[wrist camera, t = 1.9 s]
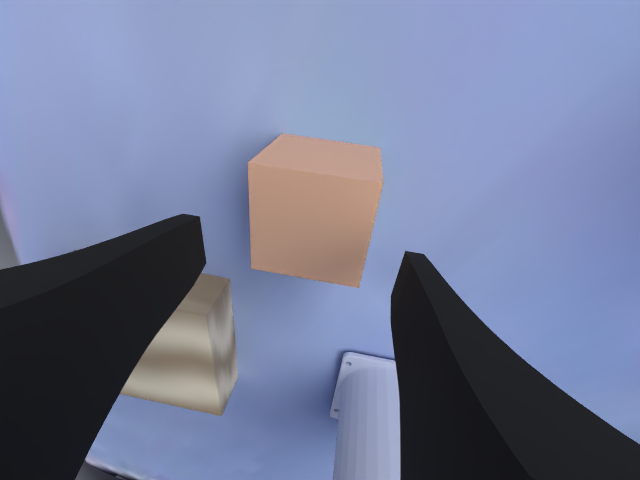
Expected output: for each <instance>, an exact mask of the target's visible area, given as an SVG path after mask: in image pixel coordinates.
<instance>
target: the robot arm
mask: <svg viewBox="0 0 640 480" xmlns="http://www.w3.org/2000/svg"><path fill="white" fill-rule="evenodd" d="M205 264H206V257H205V250H204V243H203V236H202V229H201V222H200V217H199V216H193V215H187V214H181V215H177V216H174V217H171V218H168V219H165V220H162V221H159V222H157V223H154V224H151V225H149V226H146V227H143V228H141V229H138V230H135V231H132V232H130V233H127V234H124V235H122V236H119V237H116V238H113V239H110V240H107V241H104V242H101V243H98V244H95V245H92V246H90V247H87V248H84V249H80V250H77V251H74V252H70V253H67V254H64V255H60V256H56V257H52V258H49V259H45V260H41V261H37V262H33V263H29V264H24V265H20V266H15V267H11V268H6V269H2V270H0V480H75V478H76V476H77V474H78V472H79V470H80V468H81V466H82V464H83V462H84V460H85V458H86V456H87V454H88V452H89V450H90V448H91V446H92V444H93V442H94V440H95V438H96V436H97V434H98V432H99V430H100V429H101V427H102V425H103V423H104V421H105V419H106V417H107V415H108V414H109V412H110V410H111V408H112V406H113V404H114V403H115V401H116V399H117V397H118V396H119V394H120V392H121V390H122V389H123V387H124V385H125V383H126V382H127V380H128V378H129V376H130V375H131V373H132V372H133V370H134V368H135V367H136V365H137V363H138V362H139V360H140V359H141V357H142V355H143V354H144V352H145V350H146V349H147V347H148V346H149V344H150V343H151V342H152V340H153V339H154V337H155V336H156V335H157V333H158V332H159V331H160V329H161V328H162V327H163V326H164V324H165V323H166V322H167V320H168V319H169V318H170V316H171V315H172V314H173V312H174V311H175V310H176V309H177V307H178V306H179V305H180V303H181V302H182V301H183V299H184V298H185V297H186V295H187V294H188V293H189V291H190V290H191V289H192V287H193V286H194V284H195V282H196V281H197V279H198V277H199V276H200V274H201V272H202V270H203V268H204V266H205ZM391 330H392V338H393V347H394V355H395V361H394V360H389V359H384V358H379V357H374V356H369V355H363V354H358V353H353V352H346V353H344V354H343V358H342V362H341V367H340V371H339V375H338V379H337V384H336V388H335V392H334V397H333V401H332V405H331V410H330V416H331V417H332V418H335V419H338V428H337V439H336V449H335V460H334V470H333V480H640V444H638V443H637V442H635V441H634V440H632V439H630V438H629V437H627V436H626V435H624V434H623V433H621V432H620V431H618V430H617V429H615V428H614V427H612V426H611V425H610V424H608V423H607V422H605V421H604V420H603V419H601V418H600V417H598V416H597V415H596V414H594V413H593V412H591V411H590V410H588V409H587V408H586V407H584V406H583V405H581V404H580V403H579V402H577V401H576V400H575V399H573V398H572V397H571V396H569V395H568V394H566V393H565V392H564V391H562V390H561V389H560V388H558V387H557V386H556V385H555V384H553V383H552V382H551V381H550V380H548V379H547V378H546V377H545V376H543V375H542V374H541V373H540V372H538V371H537V370H536V369H535V368H533V367H532V366H531V365H530V364H528V363H527V362H526V361H525V360H524V359H522V358H521V357H520V356H519V355H518V354H517V353H515V352H514V351H513V350H512V349H511V348H510V347H509V346H508V345H507V344H505V343H504V342H503V341H502V340H501V339H500V338H499V337H498V336H497V335H496V334H494V333H493V332H492V331H491V330H490V329H489V328H488V327H487V326H486V325H485V324H484V323H483V322H482V321H481V320H480V319H479V318H478V317H477V316H476V314H475V313H474V312H473V311H472V310H471V309H470V308H469V307H468V306H467V305H466V304H465V303H464V302H463V301H462V299H461V298H460V297H459V296H458V295H457V294H456V293H455V291H454V290H453V289H452V288H451V287H450V285H449V284H448V283H447V282H446V281H445V279H444V278H443V277H442V276H441V274H440V273H439V272H438V271H437V270H436V268H435V267H434V266H433V265H432V263H431V262H430V261H429V260H428V258H427V257H426V256H425V255H424V254H420V253H414V252H408V251H405V254H404V257H403V260H402V263H401V266H400V269H399V272H398V276H397V279H396V282H395V285H394V288H393V291H392V294H391Z"/></svg>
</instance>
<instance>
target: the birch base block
mask: <svg viewBox="0 0 640 480" xmlns="http://www.w3.org/2000/svg"><path fill="white" fill-rule="evenodd" d="M74 251H77V250H74ZM74 251H73V252H74ZM237 378H238V368H237V356H236V345H235V333H234V321H233V310H232V298H231V286H230V279H229V278H224V277H218V276H213V275H207V274H202V273H201V274H200V276H199V277H198V279H197V281H196V282H195V284H194V286H193V287H192V289H191V290H190V291H189V293H188V294H187V295H186V297H185V298H184V299H183V301H182V302H181V303H180V305H179V306H178V307H177V309H176V310H175V311H174V312H173V314H172V315H171V316H170V318H169V319H168V320H167V322H166V323H165V324H164V326H163V327H162V328H161V329H160V331H159V332H158V333H157V335H156V336H155V337H154V339H153V340H152V342H151V343H150V344H149V346H148V347H147V349H146V350H145V352H144V354H143V355H142V357H141V359H140V360H139V362H138V363H137V365H136V367H135V368H134V370H133V372H132V373H131V375H130V376H129V378H128V380H127V382H126V383H125V385H124V387H123V389H122V390H121V392H120V394H122V395H127V396H132V397H136V398H141V399H145V400H150V401H155V402H159V403H164V404H168V405H173V406H178V407H182V408H187V409H191V410H196V411H201V412H205V413H210V414H214V415H219V416H222V414H223V412H224V409H225V407H226V405H227V402H228V400H229V397H230V395H231V393H232V390H233V388H234V386H235V383H236V381H237Z"/></svg>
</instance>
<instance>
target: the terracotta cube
mask: <svg viewBox="0 0 640 480" xmlns="http://www.w3.org/2000/svg"><path fill="white" fill-rule="evenodd" d="M248 181H249V212H250V244H251V269H256V270H261V271H267V272H273V273H278V274H284V275H289V276H295V277H300V278H306V279H312V280H317V281H323V282H328V283H334V284H339V285H345V286H350V287H356V288H359V286H360V281H361V277H362V273H363V269H364V264H365V260H366V256H367V251H368V247H369V243H370V239H371V234H372V230H373V226H374V221H375V217H376V213H377V209H378V204H379V200H380V196H381V191H382V187H383V173H382V162H381V151H380V148H379V147H373V146H366V145H359V144H352V143H345V142H338V141H331V140H324V139H317V138H310V137H303V136H296V135H289V134H283V133H282V134H281V135H280V136H279V137H278V138H276V139H275V140H274V141H273V142H272V143H270V144H269V145H268V146H267V147H266V148H265V149H263V150H262V151H261V152H260V153H259V154H257V155H256V156H255V157H254V158H253V159H252V160H250V161H249V162H248Z"/></svg>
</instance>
